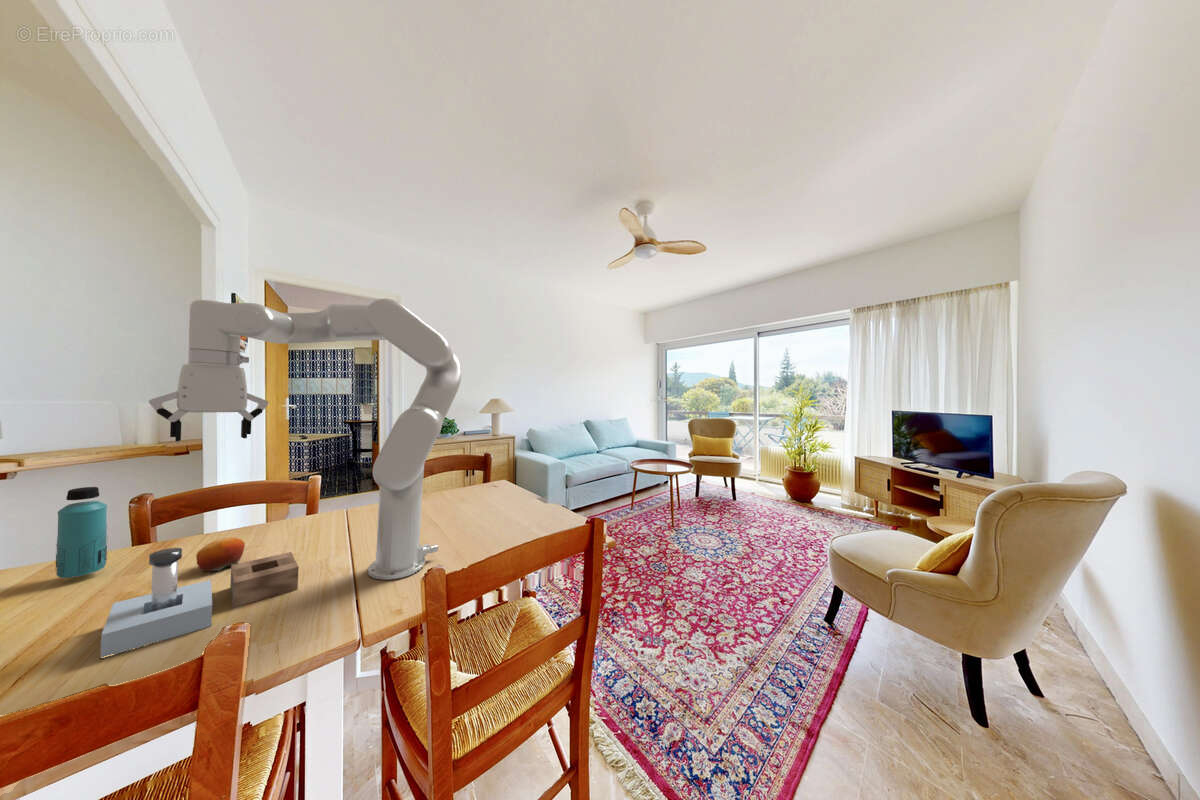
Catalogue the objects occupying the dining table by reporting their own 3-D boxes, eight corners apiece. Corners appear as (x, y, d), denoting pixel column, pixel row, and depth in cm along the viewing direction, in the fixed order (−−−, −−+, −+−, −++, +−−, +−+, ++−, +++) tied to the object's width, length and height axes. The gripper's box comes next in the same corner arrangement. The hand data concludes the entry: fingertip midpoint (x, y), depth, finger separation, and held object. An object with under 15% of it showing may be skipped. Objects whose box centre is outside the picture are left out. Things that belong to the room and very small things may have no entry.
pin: (179, 616, 68) (182, 546, 68) (178, 625, 66) (181, 552, 66) (147, 624, 65) (150, 551, 65) (145, 634, 63) (148, 558, 63)
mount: (290, 572, 86) (291, 551, 86) (297, 589, 79) (298, 566, 79) (230, 587, 78) (231, 565, 78) (232, 607, 71) (234, 582, 71)
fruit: (219, 572, 82) (206, 540, 82) (196, 585, 83) (184, 553, 84) (259, 557, 89) (247, 527, 90) (237, 569, 91) (226, 540, 92)
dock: (210, 598, 74) (211, 579, 74) (211, 626, 66) (212, 604, 66) (112, 624, 65) (113, 602, 65) (100, 659, 57) (101, 634, 57)
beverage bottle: (103, 578, 79) (106, 488, 79) (49, 589, 74) (52, 493, 74) (109, 567, 84) (112, 482, 83) (58, 577, 79) (61, 487, 78)
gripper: (266, 364, 86) (264, 435, 86) (151, 355, 72) (148, 439, 73) (272, 363, 81) (269, 438, 81) (149, 354, 68) (146, 444, 68)
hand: (212, 439), depth 77 cm, fingers open, 9 cm apart
